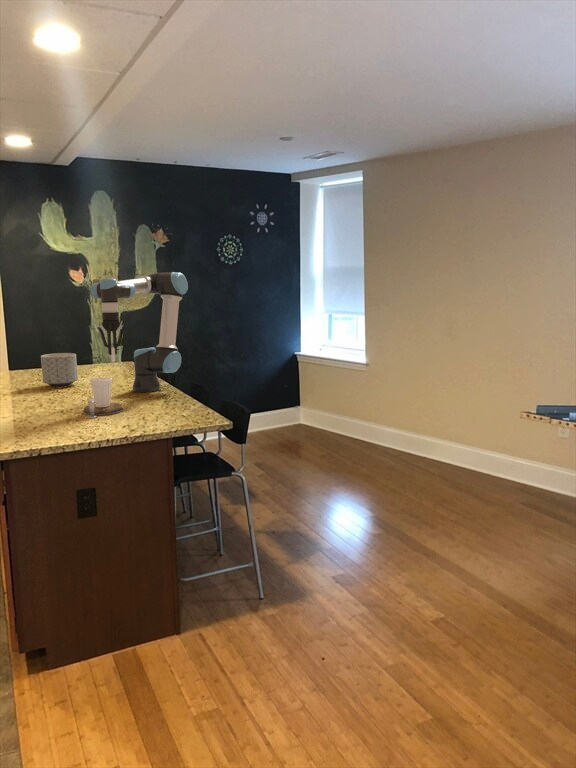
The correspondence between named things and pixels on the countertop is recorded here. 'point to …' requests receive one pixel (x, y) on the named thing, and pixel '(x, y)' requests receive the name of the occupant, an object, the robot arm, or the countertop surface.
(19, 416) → the countertop surface
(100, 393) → the cup
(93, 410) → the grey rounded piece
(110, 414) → the base
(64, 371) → the planter
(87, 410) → the brown and teal disc
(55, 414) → the countertop surface
